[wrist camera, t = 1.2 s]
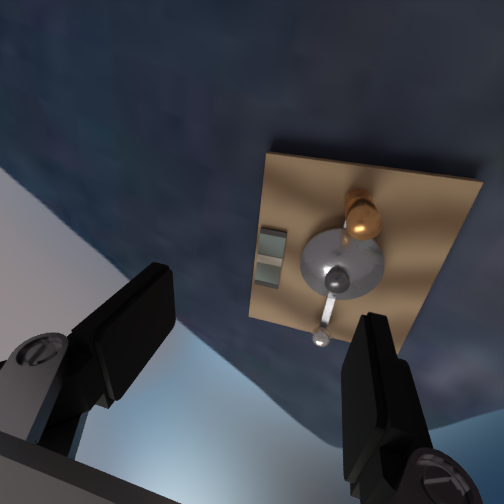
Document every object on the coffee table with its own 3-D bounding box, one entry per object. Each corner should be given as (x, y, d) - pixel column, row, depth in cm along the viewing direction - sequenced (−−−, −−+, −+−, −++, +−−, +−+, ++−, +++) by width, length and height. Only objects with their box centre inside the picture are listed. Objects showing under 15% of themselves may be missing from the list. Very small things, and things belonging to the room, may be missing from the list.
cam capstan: (354, 342, 32) (358, 387, 27) (287, 325, 33) (278, 365, 28) (409, 195, 23) (431, 219, 18) (316, 181, 25) (311, 200, 20)
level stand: (269, 151, 26) (265, 153, 25) (475, 178, 23) (485, 183, 21) (251, 309, 36) (247, 318, 34) (395, 344, 33) (398, 356, 31)
